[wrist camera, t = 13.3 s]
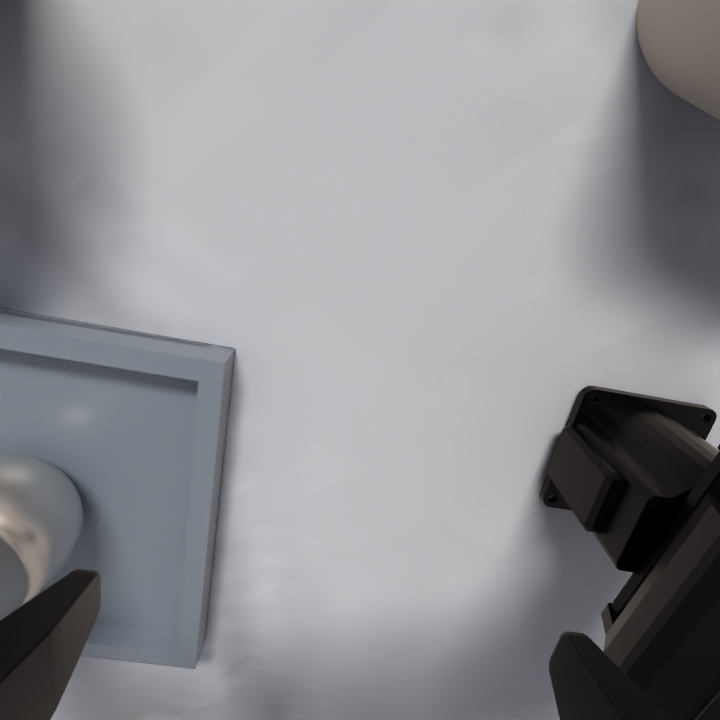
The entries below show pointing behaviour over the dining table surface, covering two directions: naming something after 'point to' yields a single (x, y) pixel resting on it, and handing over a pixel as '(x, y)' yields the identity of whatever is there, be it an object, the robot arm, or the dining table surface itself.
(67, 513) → the plastic bottle
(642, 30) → the beige lumpy box
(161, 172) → the dining table surface
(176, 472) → the blue-gray tray
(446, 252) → the dining table surface
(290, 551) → the dining table surface
